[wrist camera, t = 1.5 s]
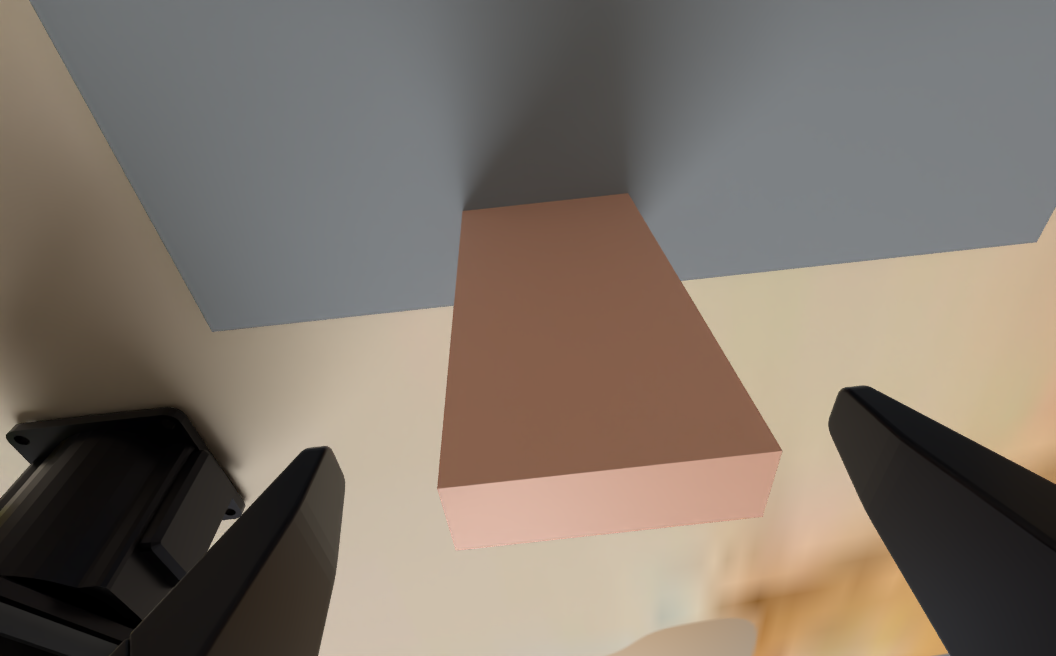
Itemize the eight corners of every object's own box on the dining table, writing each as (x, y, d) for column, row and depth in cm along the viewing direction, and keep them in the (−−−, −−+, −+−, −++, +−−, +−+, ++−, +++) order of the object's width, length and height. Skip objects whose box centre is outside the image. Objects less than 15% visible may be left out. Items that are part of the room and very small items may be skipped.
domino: (626, 241, 17) (762, 516, 8) (470, 258, 17) (455, 550, 8) (628, 193, 16) (783, 451, 7) (462, 210, 16) (437, 488, 7)
